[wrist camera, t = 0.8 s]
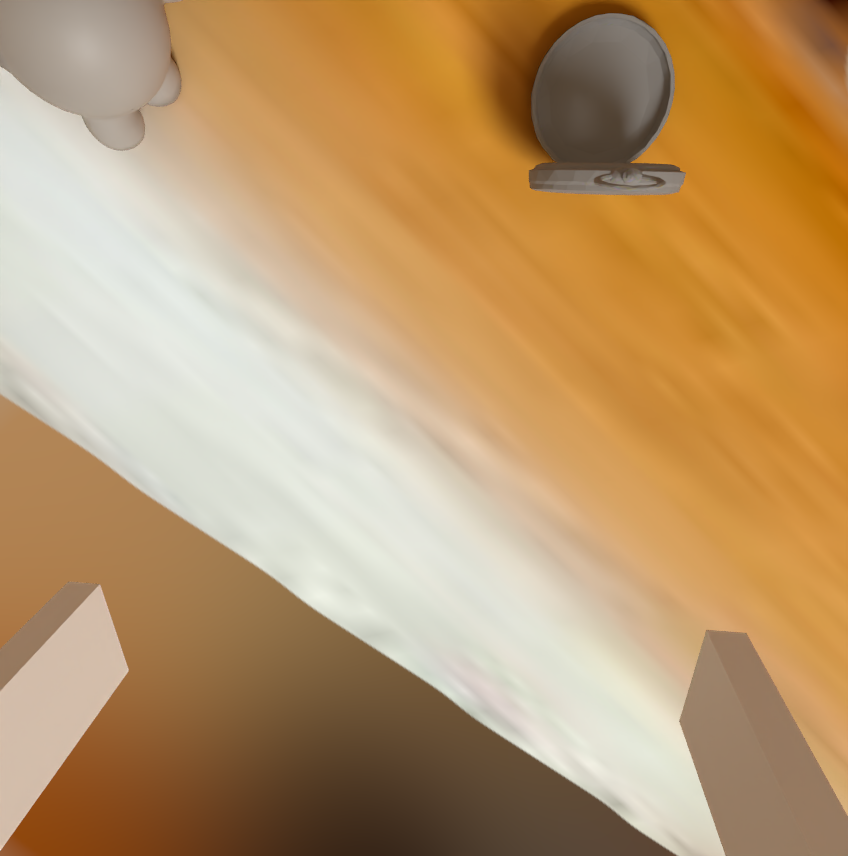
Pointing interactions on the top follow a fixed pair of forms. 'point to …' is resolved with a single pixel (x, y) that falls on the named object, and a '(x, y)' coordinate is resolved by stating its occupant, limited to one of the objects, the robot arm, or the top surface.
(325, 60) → the top surface
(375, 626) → the top surface
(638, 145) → the pocket watch
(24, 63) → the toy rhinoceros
